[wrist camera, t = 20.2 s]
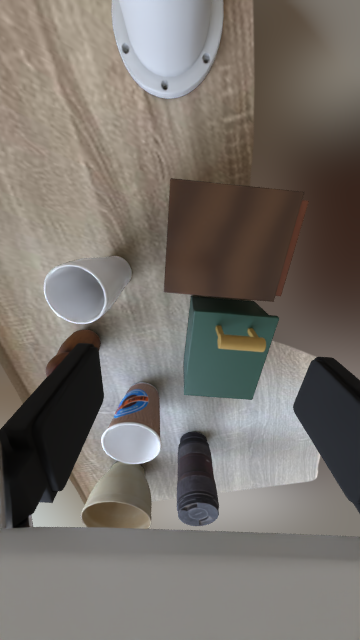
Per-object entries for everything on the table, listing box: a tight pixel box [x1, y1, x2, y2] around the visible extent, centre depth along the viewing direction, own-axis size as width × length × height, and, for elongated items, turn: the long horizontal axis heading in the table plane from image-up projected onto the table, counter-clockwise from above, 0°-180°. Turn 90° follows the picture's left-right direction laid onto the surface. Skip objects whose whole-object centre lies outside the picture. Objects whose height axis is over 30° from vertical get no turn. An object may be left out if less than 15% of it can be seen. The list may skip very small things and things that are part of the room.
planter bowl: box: [81, 461, 151, 529], centre depth 51 cm, size 16×16×11 cm
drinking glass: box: [44, 256, 132, 324], centre depth 28 cm, size 7×7×15 cm
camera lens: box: [177, 432, 219, 526], centre depth 45 cm, size 8×8×15 cm
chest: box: [184, 296, 268, 387], centre depth 36 cm, size 15×12×8 cm
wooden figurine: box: [46, 330, 101, 377], centre depth 33 cm, size 7×6×15 cm
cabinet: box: [164, 178, 304, 302], centre depth 28 cm, size 14×12×11 cm
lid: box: [184, 309, 279, 400], centre depth 29 cm, size 15×12×5 cm
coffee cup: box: [101, 382, 162, 464], centre depth 40 cm, size 10×10×12 cm
